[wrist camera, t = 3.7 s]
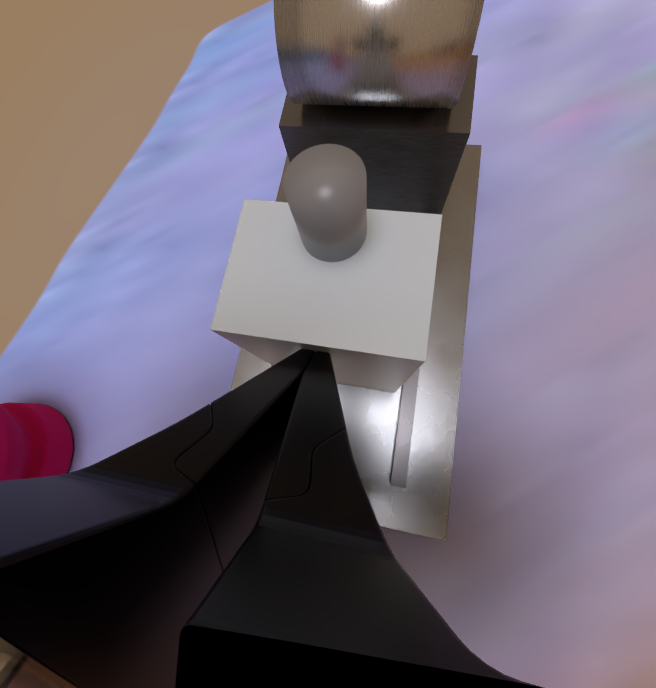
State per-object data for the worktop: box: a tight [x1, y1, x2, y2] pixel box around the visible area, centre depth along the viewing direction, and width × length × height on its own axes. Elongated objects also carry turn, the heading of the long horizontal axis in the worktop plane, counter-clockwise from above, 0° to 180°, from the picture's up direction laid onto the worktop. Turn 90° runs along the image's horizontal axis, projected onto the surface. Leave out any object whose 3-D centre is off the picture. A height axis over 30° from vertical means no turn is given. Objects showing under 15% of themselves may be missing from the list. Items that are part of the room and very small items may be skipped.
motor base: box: [231, 0, 484, 541], centre depth 14 cm, size 22×12×12 cm, turn 170°
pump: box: [210, 144, 442, 393], centre depth 12 cm, size 4×6×11 cm
